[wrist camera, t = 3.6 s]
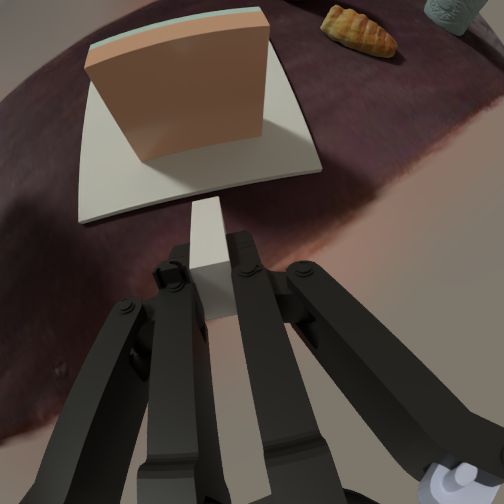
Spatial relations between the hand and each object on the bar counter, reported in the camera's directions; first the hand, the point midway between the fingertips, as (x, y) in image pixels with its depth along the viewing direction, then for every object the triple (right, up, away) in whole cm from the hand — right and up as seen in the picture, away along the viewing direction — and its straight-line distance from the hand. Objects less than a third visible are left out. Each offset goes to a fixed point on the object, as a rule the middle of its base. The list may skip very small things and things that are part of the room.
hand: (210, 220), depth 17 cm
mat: (-4, +12, +7) cm, 15 cm away
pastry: (+15, +25, +11) cm, 31 cm away
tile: (-2, +8, +6) cm, 10 cm away
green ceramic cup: (+38, +41, +15) cm, 57 cm away
